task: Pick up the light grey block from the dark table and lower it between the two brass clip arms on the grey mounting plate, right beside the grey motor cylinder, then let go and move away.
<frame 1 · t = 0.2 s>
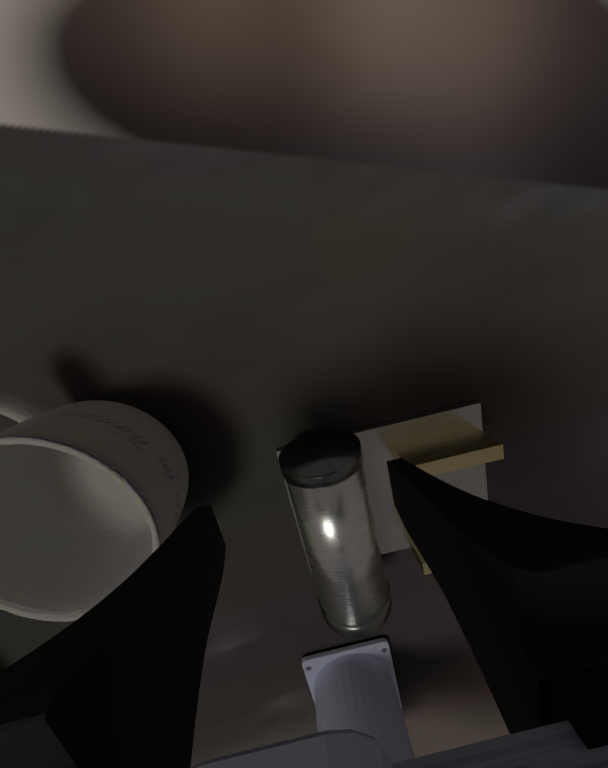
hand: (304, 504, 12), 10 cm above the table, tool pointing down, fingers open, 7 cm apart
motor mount: (431, 477, 24), on the table
teacup: (113, 439, 21), on the table
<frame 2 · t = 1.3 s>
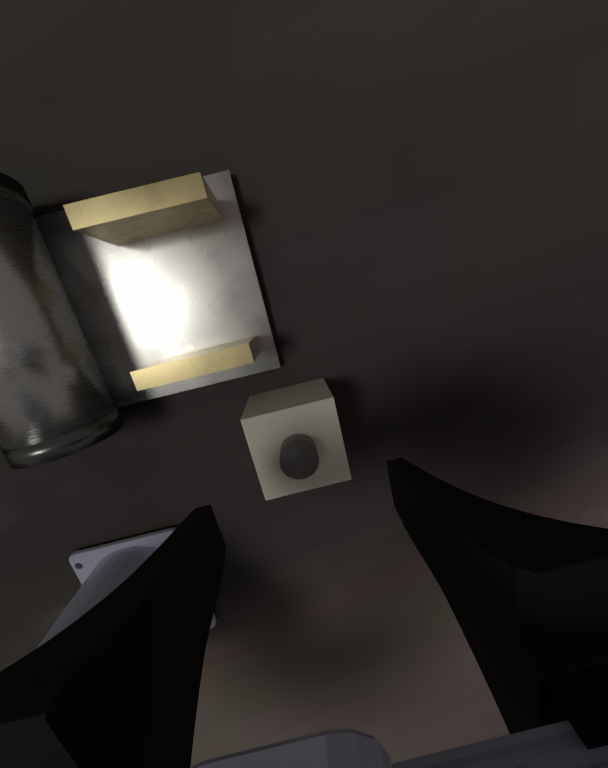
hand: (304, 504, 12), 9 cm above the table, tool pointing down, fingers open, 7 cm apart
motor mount: (192, 293, 18), on the table
light grey block: (295, 420, 21), on the table
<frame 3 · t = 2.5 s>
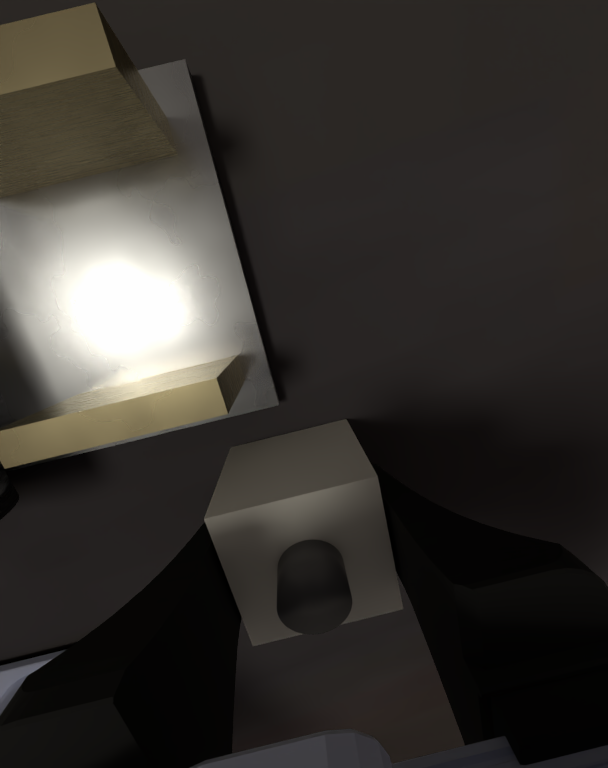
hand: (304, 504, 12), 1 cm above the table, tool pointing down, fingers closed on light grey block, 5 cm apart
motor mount: (132, 285, 11), on the table
light grey block: (302, 483, 13), on the table, touching gripper
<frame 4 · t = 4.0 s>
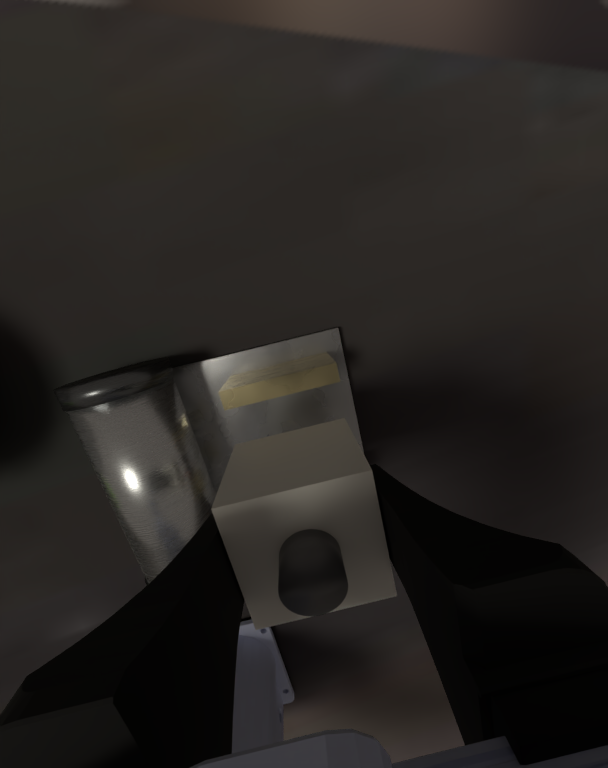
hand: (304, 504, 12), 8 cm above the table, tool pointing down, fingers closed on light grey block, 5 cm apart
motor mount: (294, 423, 20), on the table
light grey block: (302, 479, 14), point 6 cm above the table, touching gripper
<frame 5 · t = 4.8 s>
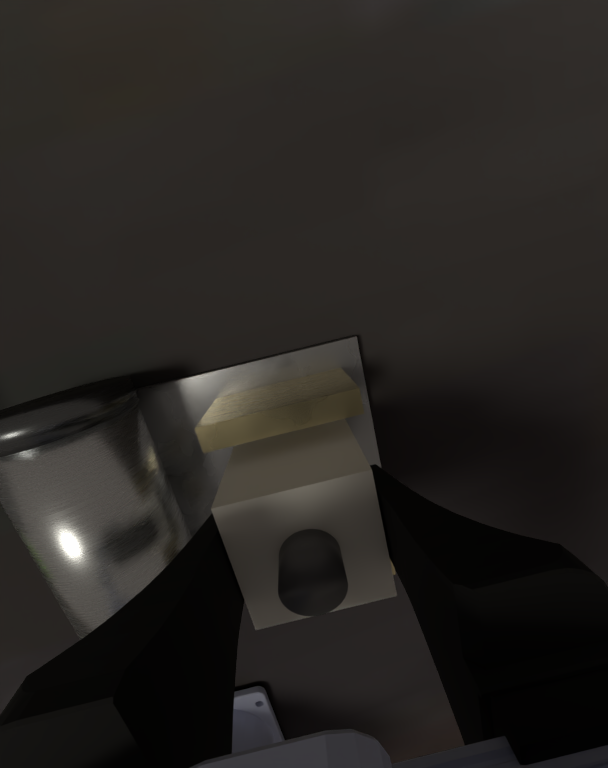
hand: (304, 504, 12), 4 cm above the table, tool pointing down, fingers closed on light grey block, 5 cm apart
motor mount: (299, 456, 16), on the table
light grey block: (302, 479, 14), point 2 cm above the table, touching gripper
when the fingers open (3 cm above the table, at t = 5.5 s): light grey block stays where it is, resting on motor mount.
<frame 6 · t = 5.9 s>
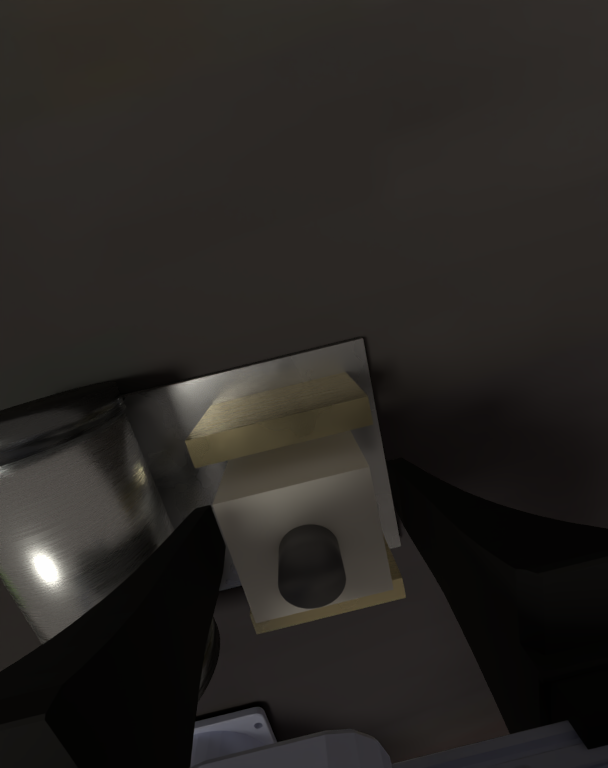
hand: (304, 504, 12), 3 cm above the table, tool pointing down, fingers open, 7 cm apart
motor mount: (300, 466, 15), on the table
light grey block: (301, 476, 14), point 1 cm above the table, touching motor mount
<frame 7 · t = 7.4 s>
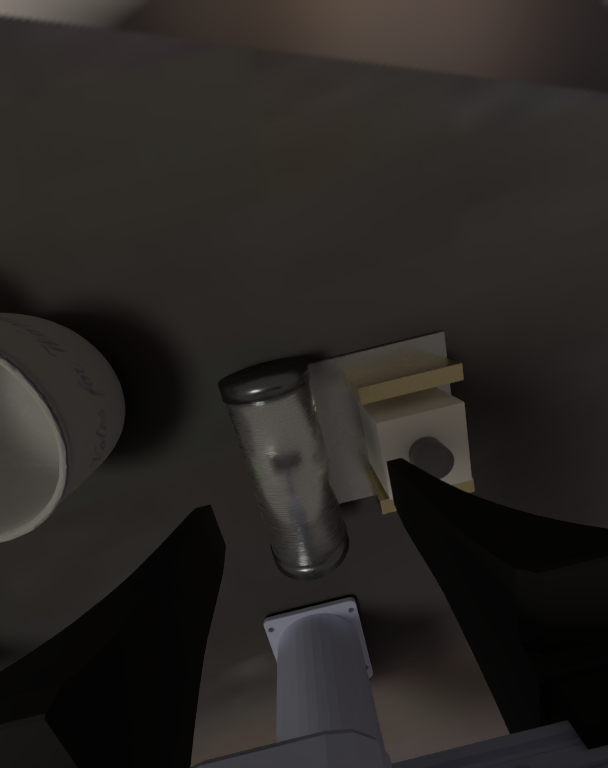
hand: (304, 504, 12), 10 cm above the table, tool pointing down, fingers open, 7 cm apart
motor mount: (394, 417, 22), on the table
light grey block: (397, 423, 22), point 1 cm above the table, touching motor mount
teacup: (48, 371, 20), on the table
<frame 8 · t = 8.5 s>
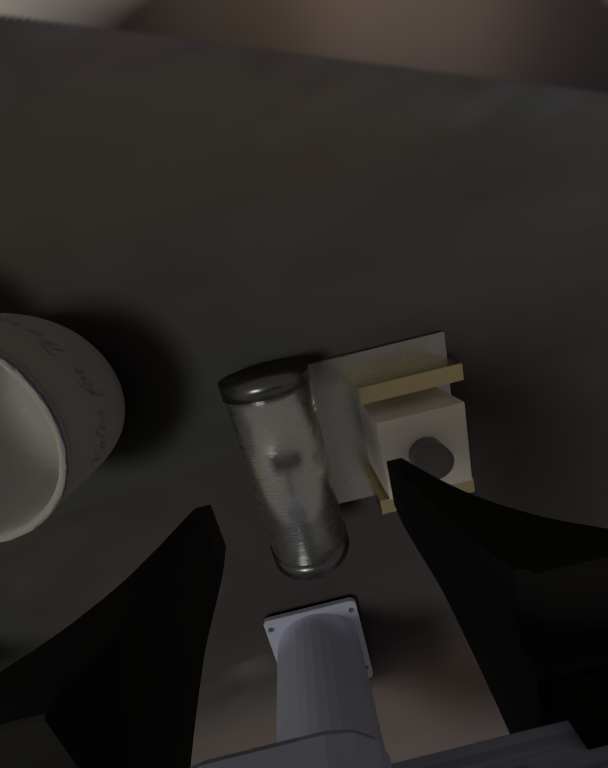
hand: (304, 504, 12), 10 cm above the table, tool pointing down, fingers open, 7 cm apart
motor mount: (394, 417, 22), on the table
light grey block: (397, 423, 22), point 1 cm above the table, touching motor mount
teacup: (48, 371, 20), on the table
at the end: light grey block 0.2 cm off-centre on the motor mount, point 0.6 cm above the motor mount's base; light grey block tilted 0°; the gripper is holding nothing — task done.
